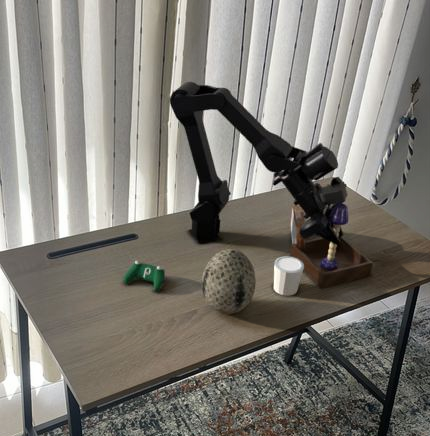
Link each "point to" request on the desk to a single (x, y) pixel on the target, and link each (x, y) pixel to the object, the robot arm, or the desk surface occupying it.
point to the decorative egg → (228, 281)
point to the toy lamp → (338, 219)
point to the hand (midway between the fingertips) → (340, 239)
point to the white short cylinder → (287, 275)
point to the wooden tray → (345, 256)
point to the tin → (297, 227)
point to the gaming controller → (145, 274)
